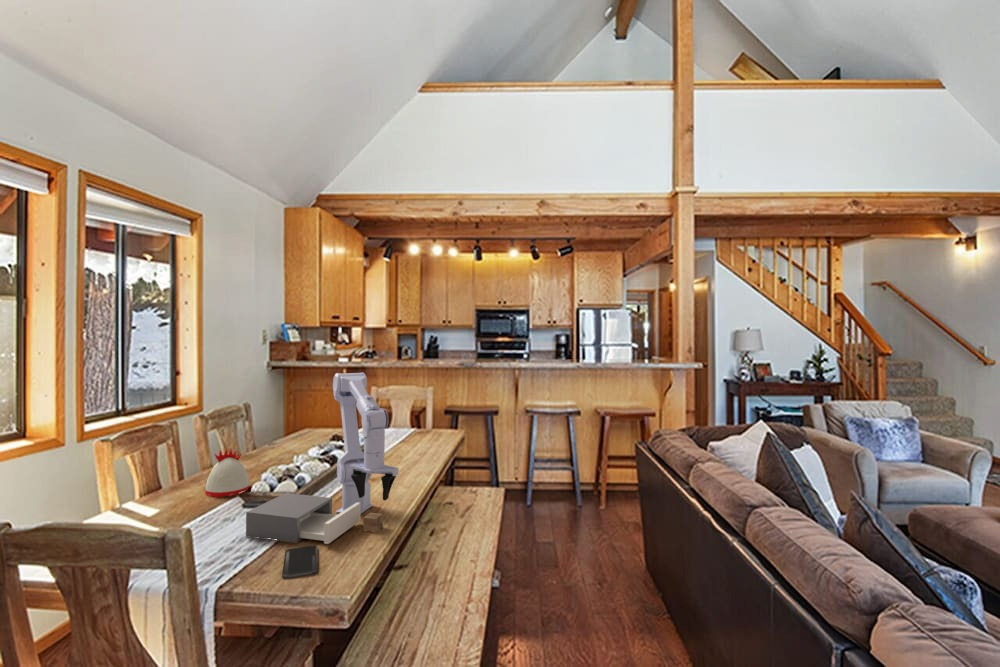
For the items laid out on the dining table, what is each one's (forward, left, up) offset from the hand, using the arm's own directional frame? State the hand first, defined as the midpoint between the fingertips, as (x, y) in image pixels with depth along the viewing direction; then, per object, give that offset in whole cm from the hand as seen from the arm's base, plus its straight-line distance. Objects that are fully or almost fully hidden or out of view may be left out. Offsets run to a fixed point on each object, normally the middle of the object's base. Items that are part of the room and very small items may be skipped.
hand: (373, 498), depth 147 cm
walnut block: (0, 0, -9) cm, 9 cm away
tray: (+6, -13, -8) cm, 17 cm away
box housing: (+6, -23, -9) cm, 25 cm away
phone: (+24, -7, -10) cm, 27 cm away
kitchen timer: (-17, -65, -9) cm, 68 cm away
